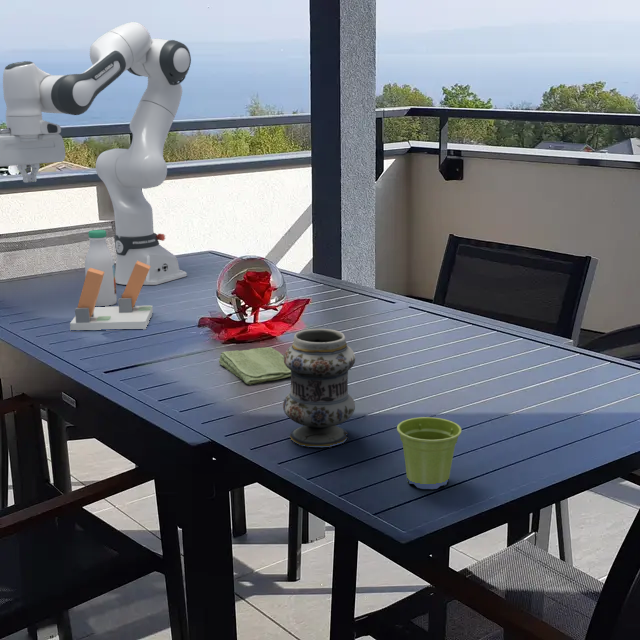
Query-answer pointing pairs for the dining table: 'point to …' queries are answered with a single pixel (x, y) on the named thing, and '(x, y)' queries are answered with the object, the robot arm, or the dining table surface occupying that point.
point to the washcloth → (255, 364)
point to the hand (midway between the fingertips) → (30, 181)
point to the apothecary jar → (319, 386)
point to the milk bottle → (102, 267)
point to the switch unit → (113, 317)
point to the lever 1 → (91, 289)
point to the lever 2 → (136, 281)
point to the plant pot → (428, 448)
